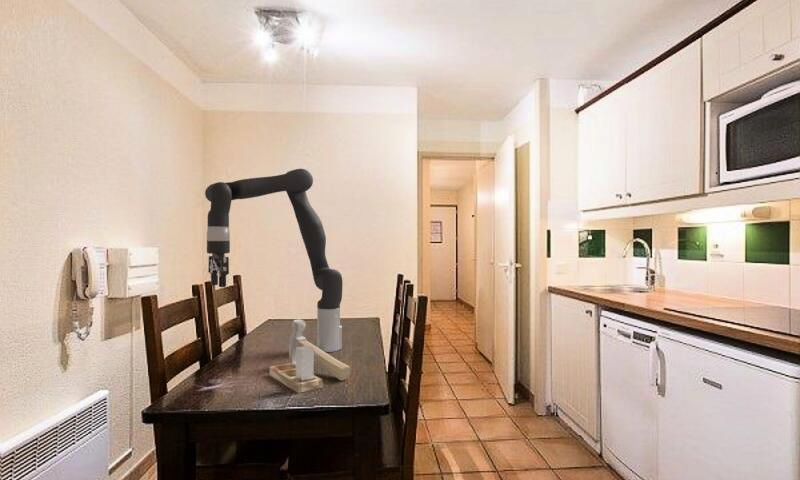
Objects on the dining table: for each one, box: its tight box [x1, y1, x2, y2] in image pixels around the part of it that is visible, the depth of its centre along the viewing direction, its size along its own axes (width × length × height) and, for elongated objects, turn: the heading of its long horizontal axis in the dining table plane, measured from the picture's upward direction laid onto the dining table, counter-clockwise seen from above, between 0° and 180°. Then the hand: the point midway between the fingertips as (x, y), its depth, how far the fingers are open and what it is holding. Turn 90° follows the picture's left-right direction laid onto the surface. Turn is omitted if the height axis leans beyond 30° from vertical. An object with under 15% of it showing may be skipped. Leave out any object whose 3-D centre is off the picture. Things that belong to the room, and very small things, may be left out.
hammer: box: [288, 319, 351, 381], centre depth 155 cm, size 16×5×30 cm
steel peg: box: [296, 346, 315, 383], centre depth 138 cm, size 4×4×12 cm
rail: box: [269, 362, 324, 394], centre depth 144 cm, size 8×22×3 cm, turn 38°
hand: (218, 286), depth 158 cm, fingers open, 8 cm apart
